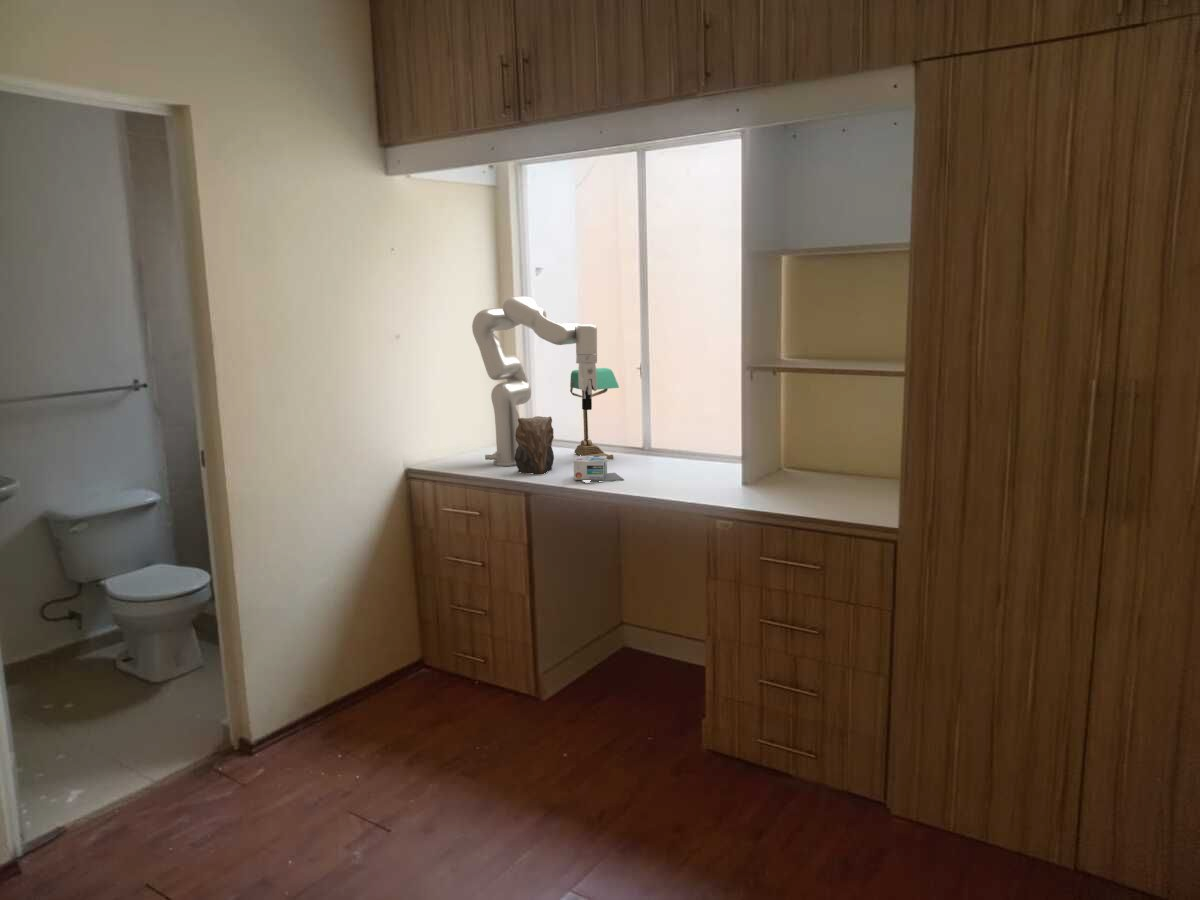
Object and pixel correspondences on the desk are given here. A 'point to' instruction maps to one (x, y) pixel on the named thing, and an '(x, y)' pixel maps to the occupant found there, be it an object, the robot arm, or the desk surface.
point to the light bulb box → (590, 468)
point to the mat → (609, 477)
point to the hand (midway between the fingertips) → (586, 409)
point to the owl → (534, 445)
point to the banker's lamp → (603, 382)
